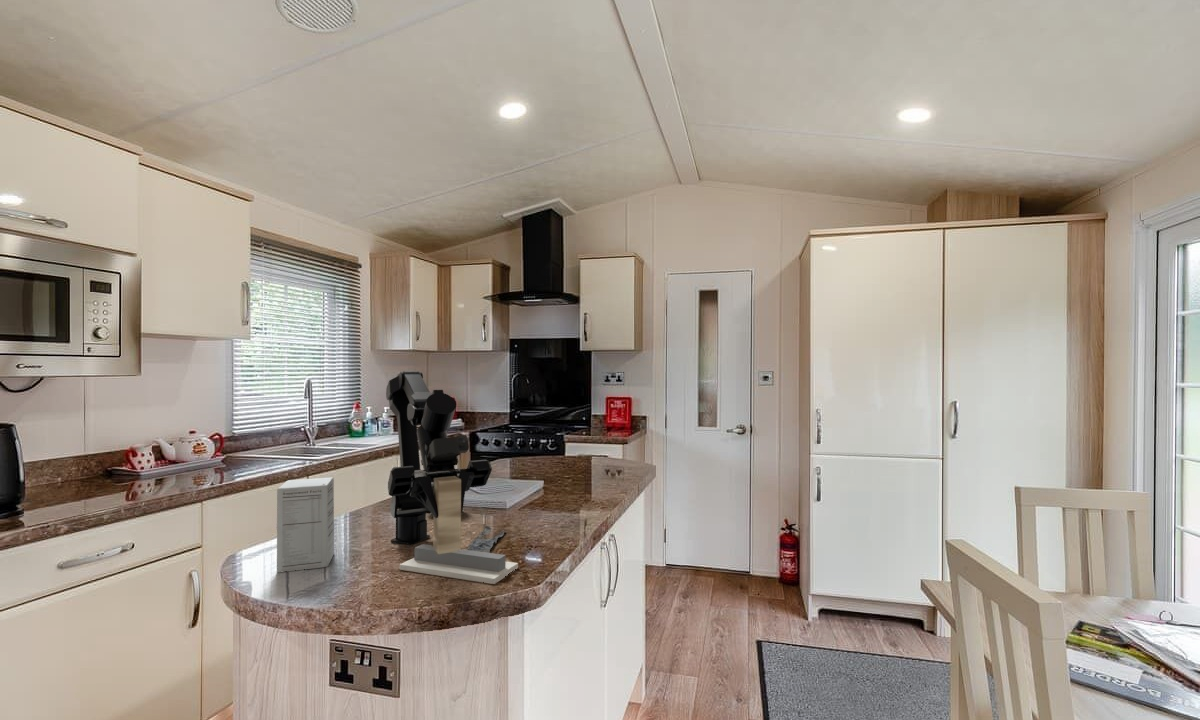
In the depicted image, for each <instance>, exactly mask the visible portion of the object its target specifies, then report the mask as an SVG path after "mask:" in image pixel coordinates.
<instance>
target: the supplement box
mask: <svg viewBox="0 0 1200 720" xmlns="http://www.w3.org/2000/svg"><path fill="white" fill-rule="evenodd" d="M334 479H335V478H334V477H332V476H331V477H315V478H304V479H303V478H300V479H289V480H286V481H285V482H284V483H282V484H281V485H280V486H279V487H278V488H276V489H277V490H276V509H277V510H276V573H277V572H279V573H284V571H287V572H294V571H295V570H296V571H303V570H304V569H305V570H311V569H312V570H313V569H319V568H320V569H321V568H328V566H329V565H330V562H331V560H332V558H333V556H334V554H335V511H334V510H335V502H334V501H335V490H334V489H335V480H334Z"/></svg>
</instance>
